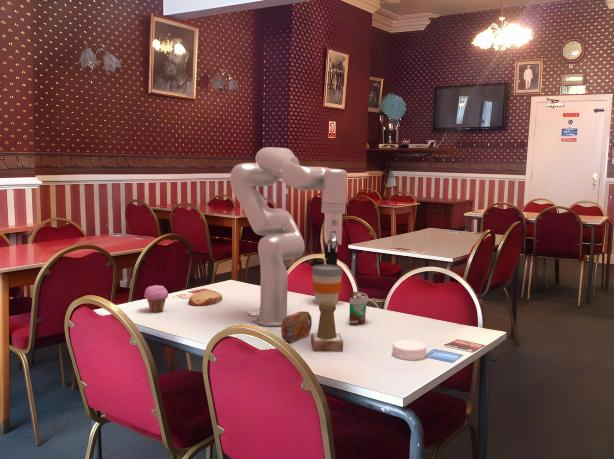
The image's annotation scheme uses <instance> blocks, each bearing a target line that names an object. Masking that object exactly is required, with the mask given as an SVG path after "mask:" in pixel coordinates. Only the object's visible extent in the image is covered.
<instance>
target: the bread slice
mask: <svg viewBox="0 0 614 459" xmlns="http://www.w3.org/2000/svg"><path fill="white" fill-rule="evenodd" d="M222 300H223V295H222V294H221V293H220V292H217V291H213V290H207V289H206V290H202V291H197V292H196V293H192V294H191V295H190V297H189V299H188V303H189V305H190V306H193V307H206V306H212V305H213V306H214V305H216V304H219V303H221V302H222Z"/></svg>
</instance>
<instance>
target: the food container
mask: <svg viewBox="0 0 614 459" xmlns="http://www.w3.org/2000/svg"><path fill="white" fill-rule="evenodd" d="M367 303H369V296H368V294H367V293H365V292H361V291H353V295H351V297H349V303H348V304H349V316H348V317H349V318H348V320H349V326H361V325H363V324H365V323H366V313H367V305H368V304H367Z"/></svg>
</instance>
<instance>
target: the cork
mask: <svg viewBox="0 0 614 459" xmlns="http://www.w3.org/2000/svg"><path fill="white" fill-rule="evenodd" d="M336 307H337V305H335V303H334V302H331V301H322V302H321V303H320V304H319V305H318V310H319V312H320V314H319V320H318V327H317V332H316V333H317V337H318V338H321V339H334V338H336V333H337V332H336V322H335V314H334V313H335V311H336V309H337V308H336Z"/></svg>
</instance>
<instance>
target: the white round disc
mask: <svg viewBox="0 0 614 459" xmlns="http://www.w3.org/2000/svg"><path fill="white" fill-rule="evenodd" d="M392 355H393V356H394V357H395V358H397V359H400V360H405V361H419V360H420V361H421V360H423V359H425V358H426V357H427V346H426V344H425V343H423V342H421V341H417V340H413V339H399V340H397V341H394V342H393V343H392Z"/></svg>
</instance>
